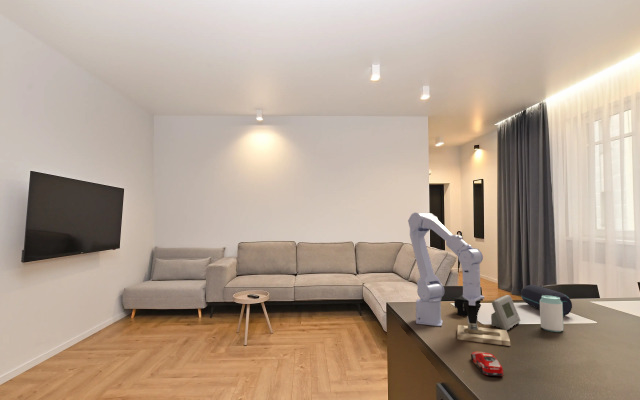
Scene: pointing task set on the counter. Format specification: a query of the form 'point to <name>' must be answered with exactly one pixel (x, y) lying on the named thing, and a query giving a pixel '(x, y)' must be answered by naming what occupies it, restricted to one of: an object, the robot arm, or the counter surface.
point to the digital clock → (504, 313)
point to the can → (551, 313)
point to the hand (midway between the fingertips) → (472, 321)
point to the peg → (473, 325)
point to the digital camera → (460, 306)
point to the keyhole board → (483, 335)
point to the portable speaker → (534, 293)
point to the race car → (487, 363)
